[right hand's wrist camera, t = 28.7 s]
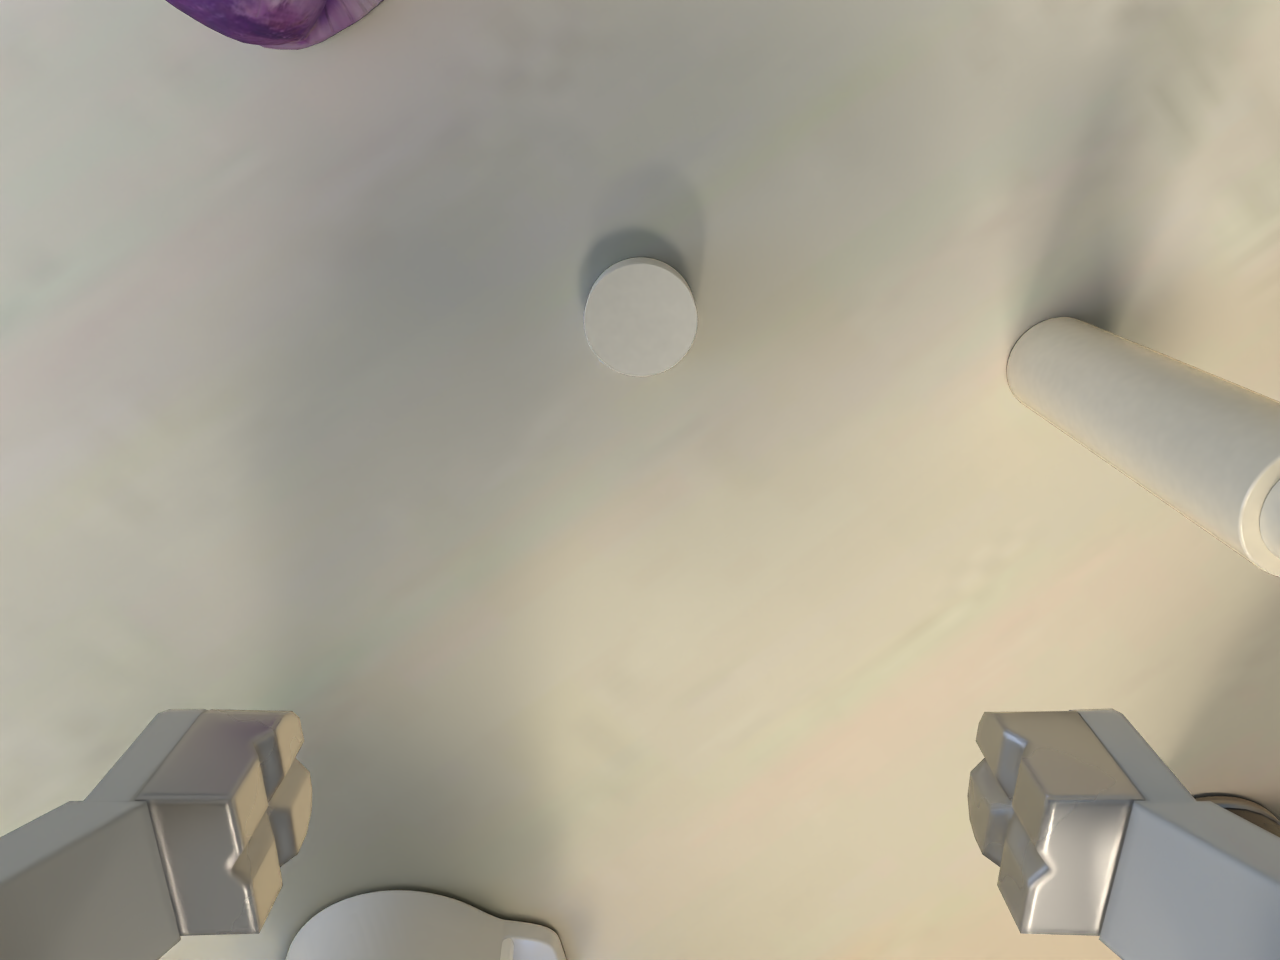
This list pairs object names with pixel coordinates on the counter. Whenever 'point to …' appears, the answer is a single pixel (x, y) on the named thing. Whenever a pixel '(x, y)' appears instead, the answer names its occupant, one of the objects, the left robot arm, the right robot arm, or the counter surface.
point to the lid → (640, 317)
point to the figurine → (277, 19)
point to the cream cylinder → (1161, 428)
